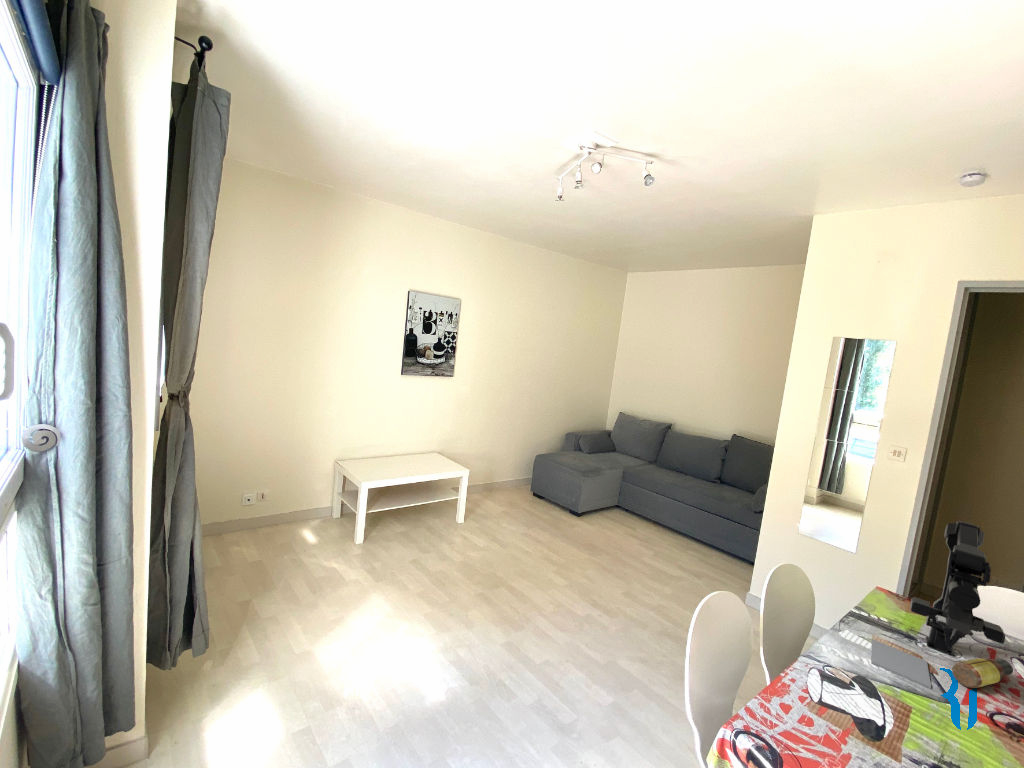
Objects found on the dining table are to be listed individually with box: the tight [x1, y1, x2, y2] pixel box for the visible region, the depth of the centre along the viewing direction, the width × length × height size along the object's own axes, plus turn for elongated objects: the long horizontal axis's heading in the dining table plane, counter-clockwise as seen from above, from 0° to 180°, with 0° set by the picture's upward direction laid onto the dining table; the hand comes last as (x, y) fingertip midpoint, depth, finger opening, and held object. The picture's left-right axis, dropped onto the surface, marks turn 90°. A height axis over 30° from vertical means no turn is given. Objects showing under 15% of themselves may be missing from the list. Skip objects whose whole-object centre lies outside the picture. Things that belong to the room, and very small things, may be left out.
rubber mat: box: [870, 638, 932, 690], centre depth 134 cm, size 15×13×1 cm
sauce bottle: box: [951, 657, 1014, 689], centre depth 130 cm, size 7×6×20 cm
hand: (948, 647), depth 128 cm, fingers closed
